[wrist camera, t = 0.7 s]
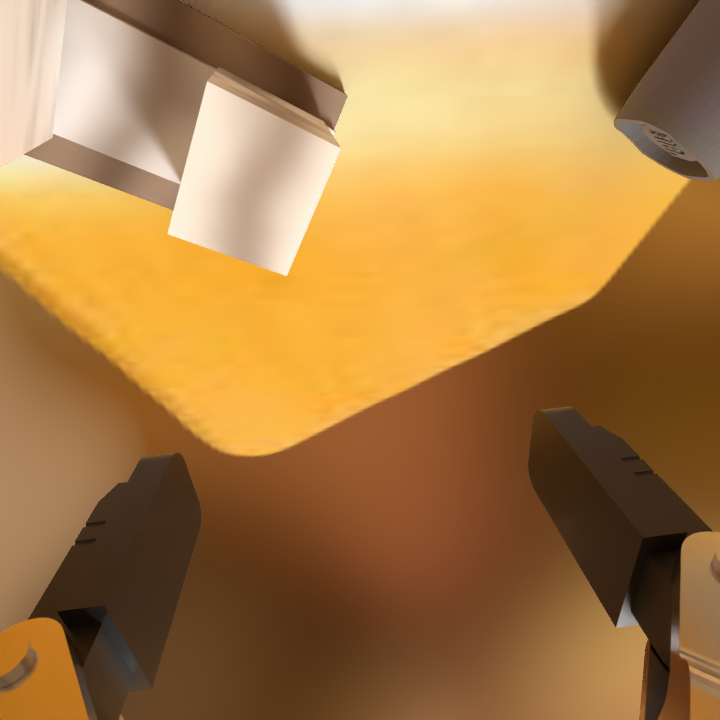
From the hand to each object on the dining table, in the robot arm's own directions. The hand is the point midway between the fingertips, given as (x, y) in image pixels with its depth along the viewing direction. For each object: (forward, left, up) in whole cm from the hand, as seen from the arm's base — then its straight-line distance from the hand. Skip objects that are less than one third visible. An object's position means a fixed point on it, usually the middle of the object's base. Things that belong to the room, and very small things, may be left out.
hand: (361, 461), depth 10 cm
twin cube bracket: (-10, -1, -29) cm, 30 cm away
